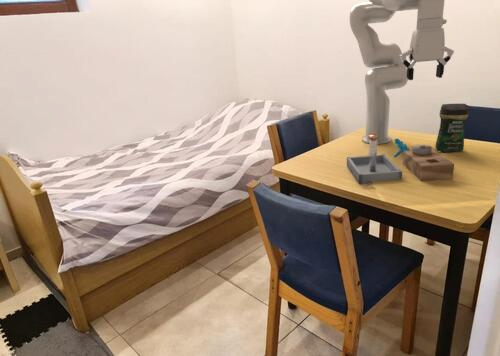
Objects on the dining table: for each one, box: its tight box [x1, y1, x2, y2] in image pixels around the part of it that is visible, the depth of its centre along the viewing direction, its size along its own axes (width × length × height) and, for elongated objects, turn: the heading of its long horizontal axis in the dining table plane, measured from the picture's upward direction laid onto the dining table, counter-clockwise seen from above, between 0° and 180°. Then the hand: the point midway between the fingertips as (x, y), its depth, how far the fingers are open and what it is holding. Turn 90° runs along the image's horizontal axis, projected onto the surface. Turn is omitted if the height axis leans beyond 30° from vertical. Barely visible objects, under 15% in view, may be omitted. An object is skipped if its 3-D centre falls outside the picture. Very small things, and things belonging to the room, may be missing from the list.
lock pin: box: [368, 134, 378, 172], centre depth 127 cm, size 3×3×13 cm
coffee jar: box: [434, 103, 469, 154], centre depth 140 cm, size 10×8×19 cm
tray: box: [346, 153, 403, 185], centre depth 129 cm, size 18×14×4 cm
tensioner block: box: [402, 144, 455, 182], centre depth 124 cm, size 16×10×9 cm, turn 179°
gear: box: [392, 138, 411, 158], centre depth 141 cm, size 11×6×10 cm
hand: (424, 78), depth 125 cm, fingers open, 9 cm apart
